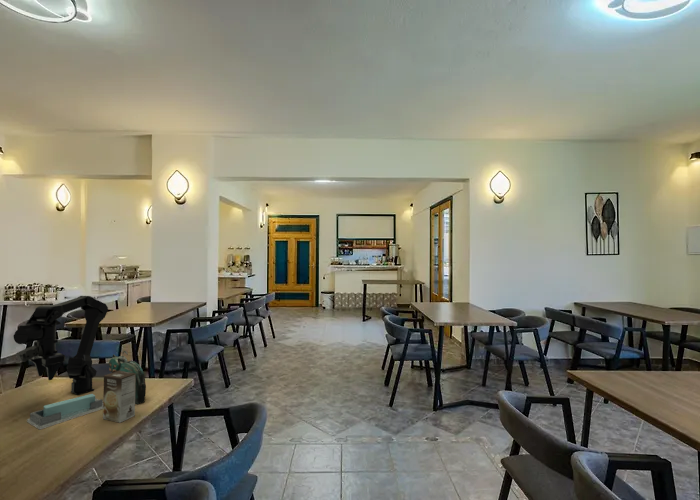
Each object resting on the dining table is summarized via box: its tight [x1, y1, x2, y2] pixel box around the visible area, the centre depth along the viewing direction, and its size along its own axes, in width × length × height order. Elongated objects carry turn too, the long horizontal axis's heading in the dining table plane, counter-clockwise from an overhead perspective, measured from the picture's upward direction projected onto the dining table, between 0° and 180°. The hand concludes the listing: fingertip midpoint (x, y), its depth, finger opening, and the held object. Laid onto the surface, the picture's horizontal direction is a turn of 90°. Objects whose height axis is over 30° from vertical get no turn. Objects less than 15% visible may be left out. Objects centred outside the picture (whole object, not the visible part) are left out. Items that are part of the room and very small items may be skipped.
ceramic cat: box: [108, 350, 147, 405], centre depth 149 cm, size 20×6×20 cm, turn 63°
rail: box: [42, 393, 96, 417], centre depth 134 cm, size 15×4×4 cm, turn 141°
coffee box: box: [102, 371, 136, 424], centre depth 132 cm, size 9×6×16 cm
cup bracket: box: [26, 397, 103, 430], centre depth 134 cm, size 22×11×3 cm, turn 149°
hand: (45, 377), depth 139 cm, fingers open, 9 cm apart
